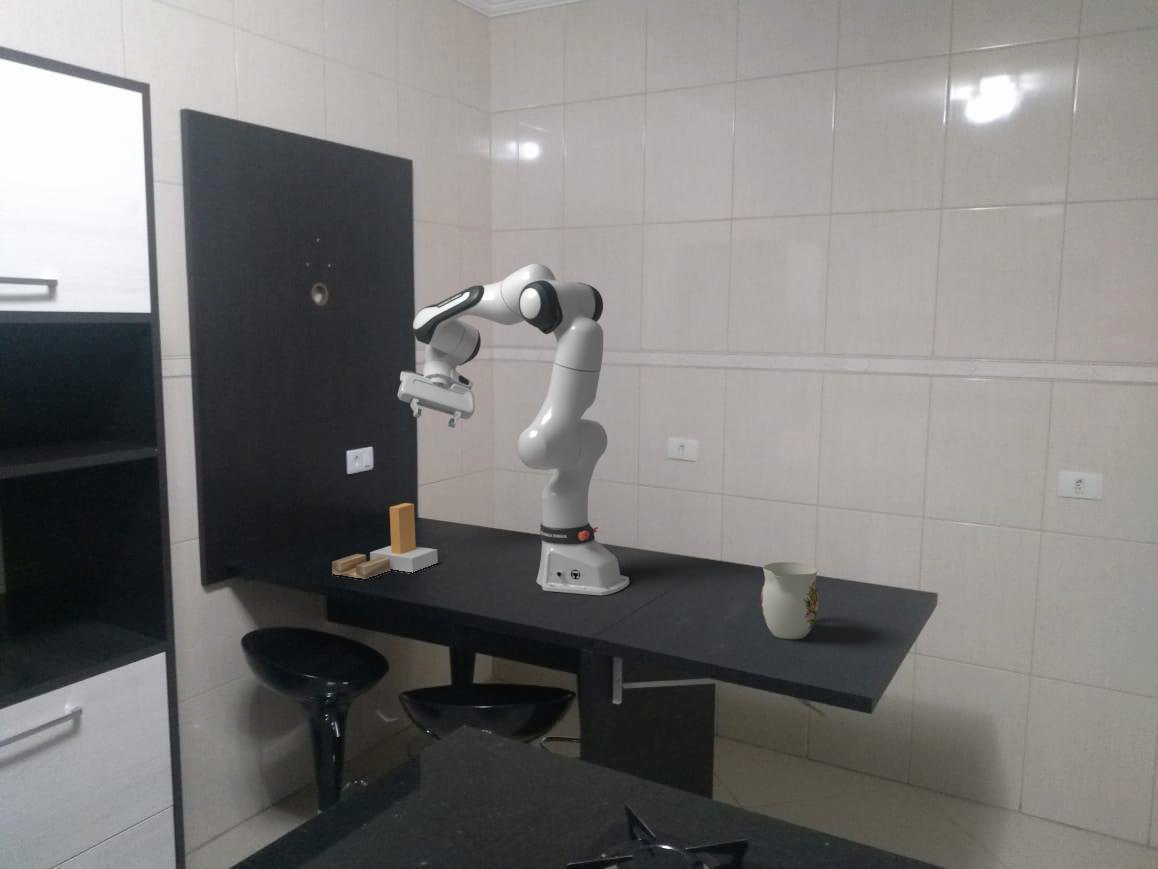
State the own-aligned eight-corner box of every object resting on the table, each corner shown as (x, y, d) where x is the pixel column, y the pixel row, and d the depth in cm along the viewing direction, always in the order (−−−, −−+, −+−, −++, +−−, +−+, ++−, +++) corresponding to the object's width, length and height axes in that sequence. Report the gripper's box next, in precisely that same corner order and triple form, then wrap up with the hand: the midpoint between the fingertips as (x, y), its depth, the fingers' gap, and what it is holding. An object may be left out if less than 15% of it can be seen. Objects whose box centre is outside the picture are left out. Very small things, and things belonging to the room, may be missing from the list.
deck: (437, 564, 229) (437, 549, 228) (412, 573, 220) (412, 558, 220) (396, 558, 236) (395, 543, 235) (370, 567, 227) (370, 552, 226)
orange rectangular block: (415, 548, 229) (413, 503, 228) (400, 554, 224) (398, 508, 223) (406, 547, 231) (405, 503, 229) (391, 552, 225) (389, 507, 224)
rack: (390, 571, 222) (389, 558, 222) (365, 580, 215) (364, 566, 214) (357, 566, 228) (357, 553, 227) (332, 575, 220) (331, 561, 220)
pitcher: (828, 622, 179) (829, 556, 177) (807, 651, 163) (808, 579, 162) (775, 615, 184) (776, 551, 182) (749, 642, 168) (750, 572, 167)
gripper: (405, 361, 226) (399, 402, 217) (478, 383, 234) (476, 424, 225) (396, 375, 230) (391, 416, 222) (469, 397, 238) (466, 438, 230)
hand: (434, 421), depth 224 cm, fingers open, 8 cm apart
